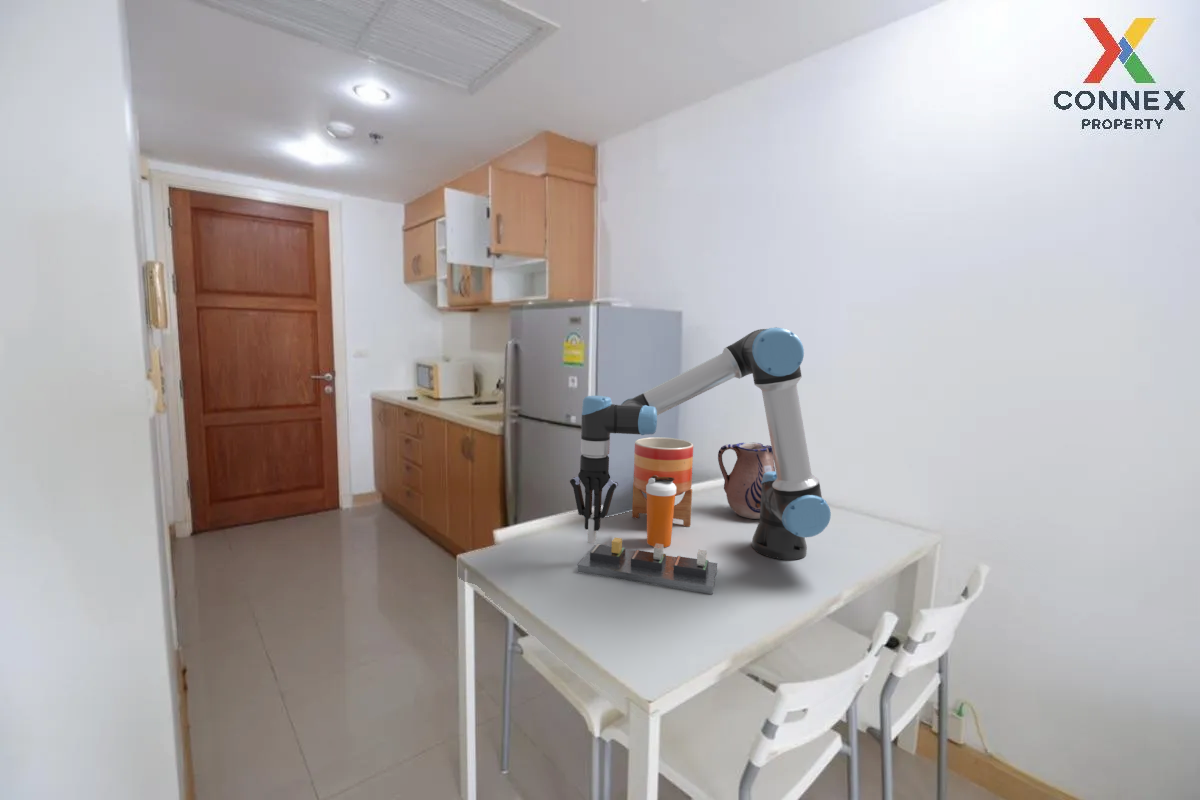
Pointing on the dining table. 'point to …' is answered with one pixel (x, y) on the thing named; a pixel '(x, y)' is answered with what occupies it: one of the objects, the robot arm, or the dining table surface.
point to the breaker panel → (650, 574)
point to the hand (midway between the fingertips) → (591, 541)
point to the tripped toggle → (616, 545)
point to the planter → (663, 472)
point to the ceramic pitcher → (746, 477)
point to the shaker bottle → (660, 510)
